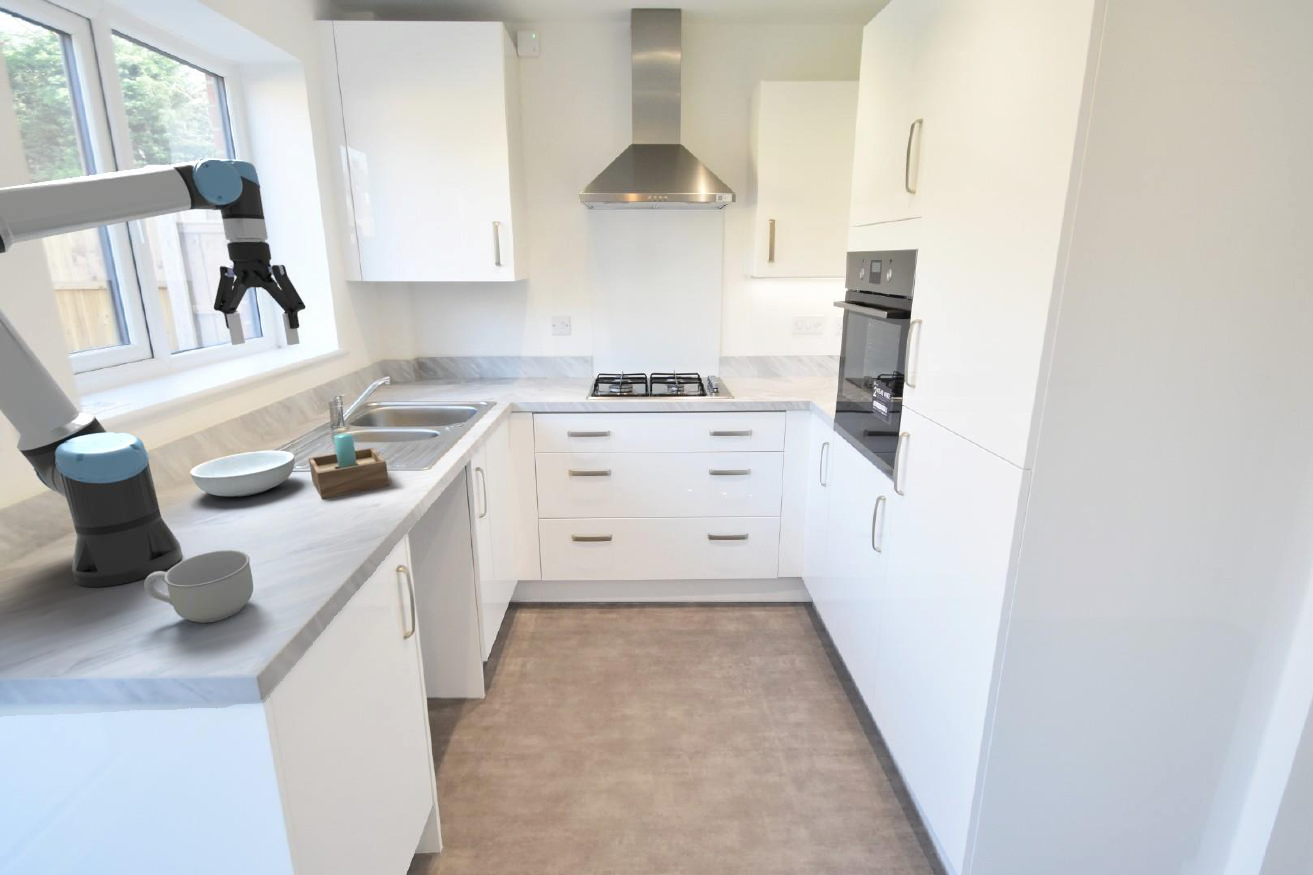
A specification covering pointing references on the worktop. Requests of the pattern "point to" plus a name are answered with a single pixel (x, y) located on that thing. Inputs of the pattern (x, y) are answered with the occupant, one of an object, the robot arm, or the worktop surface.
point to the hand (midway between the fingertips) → (265, 344)
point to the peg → (345, 450)
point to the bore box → (348, 473)
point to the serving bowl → (243, 473)
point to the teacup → (206, 585)
